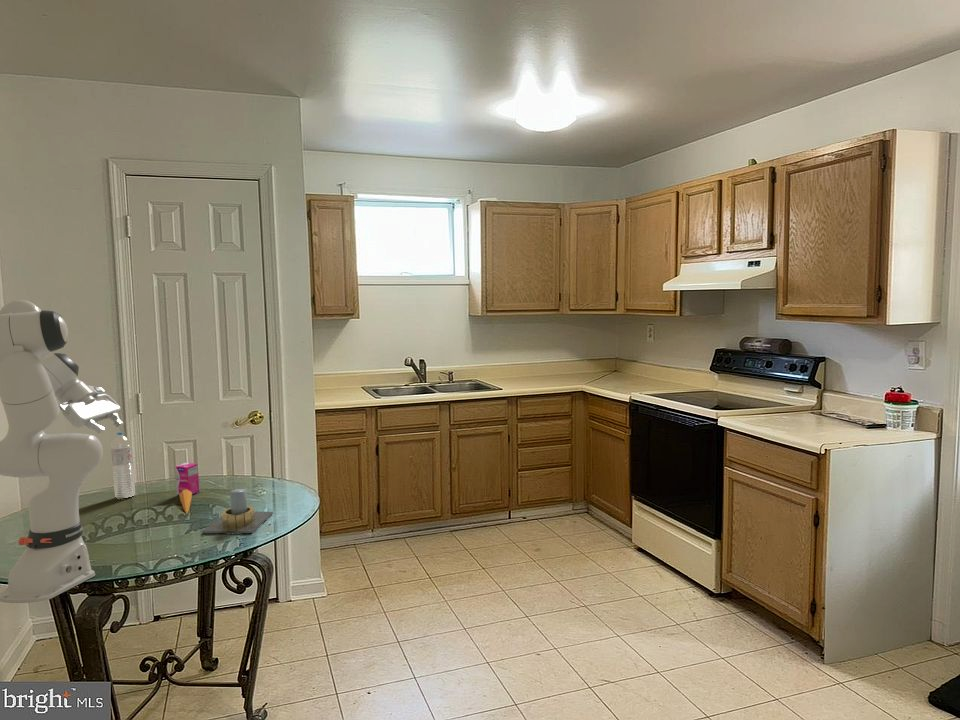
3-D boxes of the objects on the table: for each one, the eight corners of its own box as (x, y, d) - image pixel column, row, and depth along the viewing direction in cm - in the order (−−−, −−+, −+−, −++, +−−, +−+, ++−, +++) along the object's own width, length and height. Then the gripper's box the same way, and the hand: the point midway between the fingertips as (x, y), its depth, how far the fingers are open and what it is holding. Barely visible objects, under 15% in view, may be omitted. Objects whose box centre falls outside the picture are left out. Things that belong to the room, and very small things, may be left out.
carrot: (182, 501, 243) (176, 491, 242) (194, 495, 245) (188, 485, 243) (183, 523, 226) (177, 512, 224) (196, 516, 227) (190, 506, 225)
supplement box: (176, 496, 248) (174, 466, 246) (187, 491, 253) (185, 462, 252) (189, 497, 246) (187, 467, 245) (200, 492, 252) (198, 463, 250)
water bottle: (126, 500, 244) (121, 434, 241) (110, 499, 245) (105, 433, 243) (139, 494, 251) (134, 430, 248) (124, 494, 252) (118, 430, 249)
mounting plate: (251, 533, 205) (251, 530, 205) (202, 534, 206) (201, 531, 206) (273, 514, 223) (272, 511, 223) (227, 514, 224) (227, 512, 224)
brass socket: (247, 526, 209) (246, 515, 209) (217, 526, 210) (216, 515, 210) (259, 515, 219) (258, 505, 219) (230, 516, 220) (230, 505, 219)
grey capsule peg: (244, 523, 212) (242, 493, 211) (229, 523, 212) (227, 493, 211) (250, 518, 217) (248, 488, 216) (235, 518, 217) (233, 488, 216)
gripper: (62, 396, 198) (96, 428, 198) (105, 386, 218) (136, 415, 218) (49, 411, 198) (83, 443, 199) (93, 400, 219) (124, 428, 219)
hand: (111, 428), depth 209 cm, fingers open, 8 cm apart
